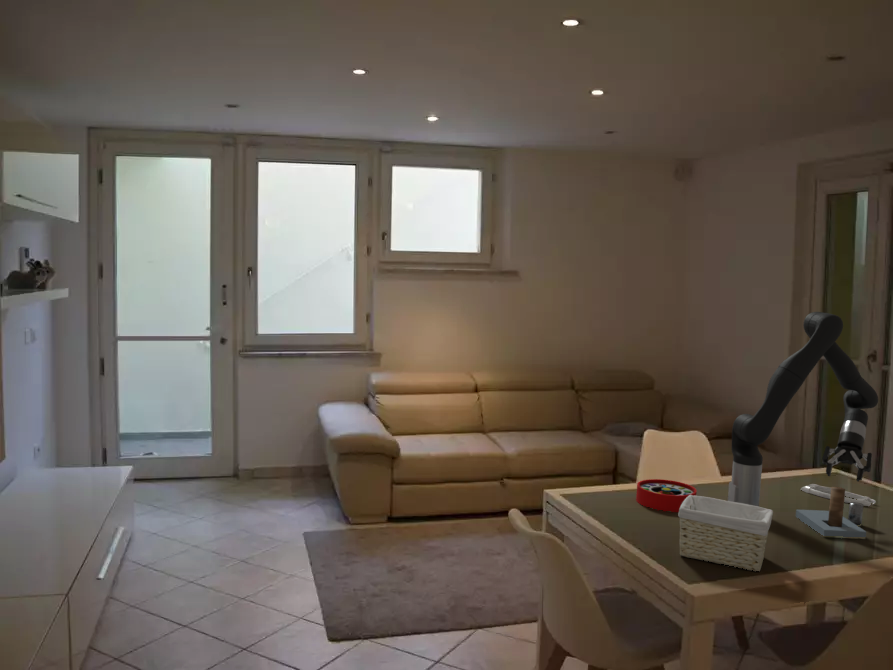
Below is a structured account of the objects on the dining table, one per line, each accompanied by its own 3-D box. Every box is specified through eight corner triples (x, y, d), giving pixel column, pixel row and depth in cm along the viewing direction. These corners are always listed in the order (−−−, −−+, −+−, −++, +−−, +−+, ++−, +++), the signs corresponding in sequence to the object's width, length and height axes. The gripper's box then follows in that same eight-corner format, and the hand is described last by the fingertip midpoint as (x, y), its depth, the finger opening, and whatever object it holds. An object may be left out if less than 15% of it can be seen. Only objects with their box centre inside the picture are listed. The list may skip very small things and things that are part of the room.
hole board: (823, 537, 242) (824, 529, 242) (795, 516, 262) (796, 509, 261) (865, 539, 242) (866, 531, 242) (834, 518, 262) (834, 511, 261)
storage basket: (770, 557, 223) (774, 507, 222) (764, 576, 209) (769, 523, 208) (684, 540, 234) (687, 492, 233) (673, 558, 220) (677, 507, 219)
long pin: (831, 533, 246) (834, 490, 245) (825, 528, 250) (828, 486, 249) (843, 533, 246) (847, 490, 245) (837, 529, 250) (841, 486, 249)
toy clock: (642, 493, 261) (632, 477, 281) (641, 510, 262) (631, 493, 282) (703, 497, 260) (688, 481, 280) (702, 514, 261) (687, 496, 281)
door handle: (867, 510, 274) (797, 492, 293) (878, 505, 280) (809, 488, 299) (868, 502, 274) (797, 485, 292) (879, 498, 280) (809, 481, 299)
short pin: (851, 526, 254) (853, 505, 254) (845, 522, 258) (847, 501, 258) (863, 526, 254) (865, 505, 254) (857, 522, 258) (859, 502, 258)
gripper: (828, 427, 263) (818, 467, 255) (875, 434, 255) (867, 475, 246) (829, 440, 268) (820, 479, 259) (876, 447, 259) (868, 488, 251)
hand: (843, 477), depth 253 cm, fingers open, 8 cm apart
